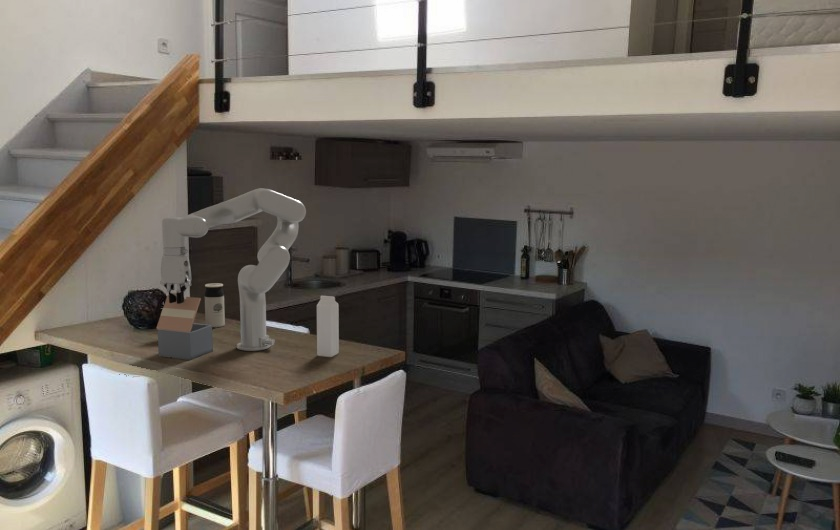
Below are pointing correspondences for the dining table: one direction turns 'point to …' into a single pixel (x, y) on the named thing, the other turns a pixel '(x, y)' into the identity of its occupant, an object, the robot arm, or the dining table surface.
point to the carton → (186, 342)
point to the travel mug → (214, 305)
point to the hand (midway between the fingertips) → (176, 302)
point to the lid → (178, 314)
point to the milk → (327, 326)
